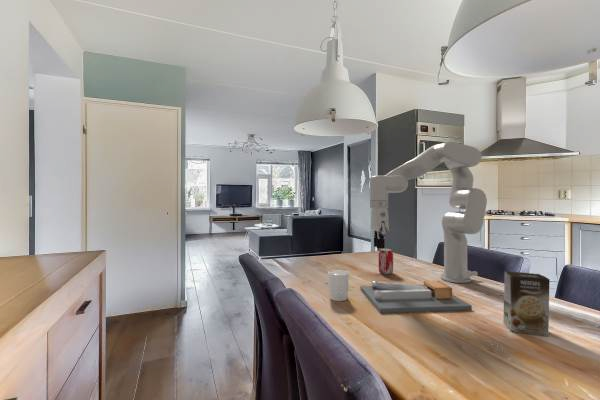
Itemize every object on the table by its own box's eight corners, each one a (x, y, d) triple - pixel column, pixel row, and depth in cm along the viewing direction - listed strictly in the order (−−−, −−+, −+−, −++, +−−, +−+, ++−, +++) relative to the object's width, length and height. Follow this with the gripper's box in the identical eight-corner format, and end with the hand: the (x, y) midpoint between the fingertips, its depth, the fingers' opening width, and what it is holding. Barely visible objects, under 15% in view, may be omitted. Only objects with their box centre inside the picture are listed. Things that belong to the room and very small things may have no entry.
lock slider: (438, 290, 115) (438, 280, 115) (452, 298, 106) (452, 287, 106) (423, 290, 114) (423, 281, 114) (436, 298, 105) (436, 288, 105)
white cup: (324, 298, 111) (324, 272, 111) (336, 293, 117) (336, 268, 117) (341, 303, 106) (341, 276, 106) (353, 298, 112) (352, 272, 112)
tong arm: (426, 291, 113) (426, 285, 113) (427, 294, 110) (427, 287, 110) (372, 286, 120) (372, 280, 120) (371, 288, 118) (371, 282, 118)
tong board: (434, 287, 123) (434, 277, 123) (471, 309, 99) (471, 297, 99) (360, 289, 121) (360, 279, 121) (380, 312, 97) (379, 300, 97)
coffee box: (510, 332, 83) (510, 276, 83) (502, 322, 89) (503, 270, 89) (549, 337, 80) (550, 279, 80) (539, 327, 86) (539, 273, 86)
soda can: (394, 274, 144) (394, 250, 144) (380, 274, 144) (380, 250, 144) (390, 271, 151) (390, 248, 151) (377, 271, 151) (377, 248, 151)
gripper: (395, 205, 116) (395, 250, 117) (381, 204, 133) (381, 244, 133) (376, 205, 116) (376, 251, 116) (364, 204, 132) (364, 244, 133)
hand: (379, 247), depth 125 cm, fingers open, 3 cm apart
